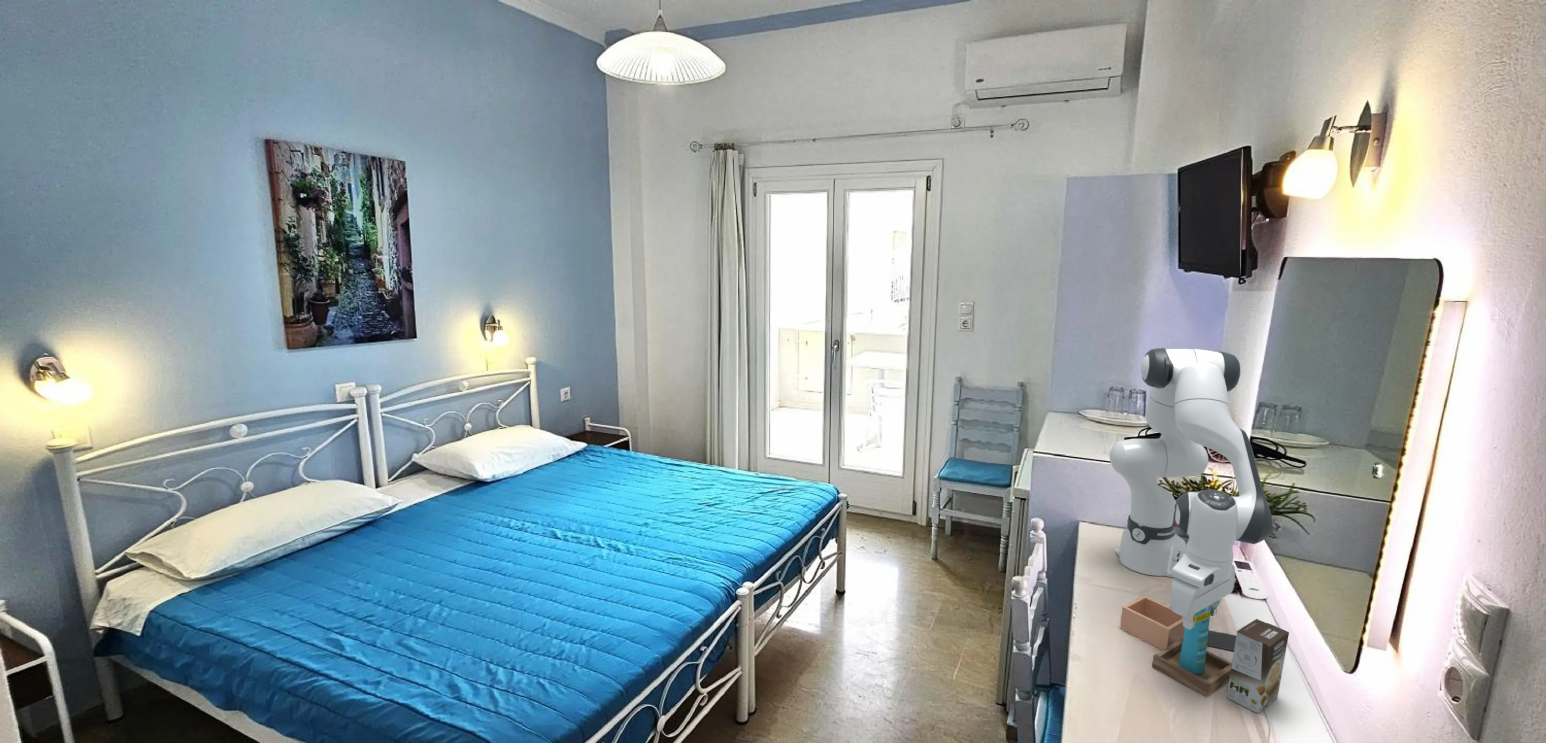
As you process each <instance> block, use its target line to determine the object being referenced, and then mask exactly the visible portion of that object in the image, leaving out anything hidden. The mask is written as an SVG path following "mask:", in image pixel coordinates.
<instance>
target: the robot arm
mask: <svg viewBox="0 0 1546 743" xmlns="http://www.w3.org/2000/svg"><path fill="white" fill-rule="evenodd" d="M1143 357H1144V358H1143V359H1142V362H1141V364H1140V372H1141V373H1140V374H1141V377H1142V381H1143V382H1144V383H1145V384H1146V385H1147V386H1148V387H1151V389H1150V393H1149V397H1148V401H1147V406H1146V410H1145V421H1146V423H1147V425H1148V426H1149V427H1150V428H1151V429H1152V430H1154V431H1155V432H1157V433H1159V434H1160V436H1159V438H1130V439H1124V440H1119V441H1118V440H1117V441H1116V442H1114V444H1113V445H1112V447H1111V448H1110V451H1109V462H1110V464H1111V466H1112V468H1113V470H1114V471H1115V472H1116V473H1117V474H1119V475H1120V476H1121V477H1122V478H1123V479H1124V480H1125V481H1126V483H1127V484H1128V486H1129V490H1130V514H1129V515H1128V518H1127V521H1126V523H1127V525H1126V528H1124V529H1123V530H1122V535H1121V539H1120V544H1119V547H1116V549H1115V553H1116V555H1118V561H1119V562H1120V563H1121V564H1122V565H1123V566H1124V567H1126V568H1128V569H1129V570H1130V571H1131V570H1132V571H1133V572H1137V573H1140V574H1143V575H1148V576H1158V577H1163V576H1164V577H1169V578H1170V577H1171V578H1174V579H1173V580H1172V583H1171V588H1170V589H1171V590H1170V600H1169V601H1170V602H1169V607H1170V608H1171V610H1172V611H1173V612H1174V613H1176V614H1178V615H1180V616H1182V618H1183V626H1184V627H1185V628H1187V629H1189V630H1191V629H1192V628H1194V627H1195V621H1194V620H1193V616H1194V614H1196V613H1197V612H1199V611H1201V610H1202V609H1204V608H1206V607H1208V606H1209V605H1211V613H1210V617H1214V616H1216V615H1217V614H1218V608H1219V607H1220V604H1221V602H1222V600H1223V598H1224V597H1226V596H1228V595H1230V594H1231V593H1232V592H1233V591H1234V588H1235V579H1236V568H1235V565H1234V564H1233V563H1234V551H1233V546H1234V544H1235V542H1236V541H1237V542H1241V543H1246V544H1251V545H1256V544H1258V543H1259V544H1260V543H1261V542H1262V541H1265V540H1266V539H1267V538H1269V537H1270V536H1271V534H1272V533H1273V527H1274V526H1273V525H1274V521H1273V520H1274V519H1273V517H1272V512H1271V508H1270V505H1269V504H1268V501H1267V499H1266V497H1265V493H1264V489H1263V485H1262V482H1261V478H1260V474H1259V473H1260V472H1259V470H1258V466H1257V462H1256V461H1257V460H1256V458H1255V455H1254V451H1253V448H1252V444H1251V441H1250V438H1249V436H1248V435H1247V433H1246V431H1245V430H1244V429H1242V428H1240V427H1238V425H1237V424H1236V423H1235V421H1234V419H1233V418H1232V416H1231V413H1230V410H1229V409H1230V408H1229V396H1228V392H1231V391H1232V390H1233V389H1234V388H1237V385H1238V383H1239V381H1240V379H1241V370H1242V369H1241V362H1240V361H1239V359H1238V358H1237V356H1236V355H1234V354H1232V353H1229V352H1225V351H1213V350H1207V349H1201V348H1200V349H1198V348H1164V347H1159V348H1151V349H1149V350H1148V351H1147V352H1146V353H1145V354H1144V356H1143ZM1206 448H1208V449H1210V450H1212V451H1215V452H1217V453H1218V454H1220V455H1221V456H1223V457H1224V458H1225V459H1227V460H1228V461H1229V462H1230V464H1231V466H1232V470H1233V474H1234V479H1235V482H1236V488H1237V491H1238V494H1239V495H1238V496H1234V495H1233V496H1232V495H1229V494H1228V493H1227V492H1223V491H1220V490H1215V489H1204V490H1203V489H1202V490H1200V491H1198V492H1197V491H1187V492H1184V493H1183V494H1181V495H1180V496H1179V497H1178V498H1176V500H1175V498H1174V496H1173V494H1172V493H1171V492H1170V491H1169V490H1168V489H1166V488H1164V487H1162V486H1159V485H1158V479H1159V478H1181V479H1182V478H1189V477H1195V476H1199V475H1202V474H1203V473H1204V472H1205V471H1206V469H1207V467H1208V464H1209V455H1208V451H1207V449H1206ZM1176 528H1178V529H1179V530H1180V531H1181V532H1182V533H1183V534H1185V535H1187V536H1188V540H1187V542H1185V540H1184V539H1183V538H1182V537H1180V536H1179V535H1178V534H1177V533H1176Z"/></svg>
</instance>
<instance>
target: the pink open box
mask: <svg viewBox="0 0 1546 743" xmlns="http://www.w3.org/2000/svg"><path fill="white" fill-rule="evenodd" d="M1119 628H1120V629H1121V630H1122V631H1125V632H1127V633H1129V634H1131V635H1133V636H1134V637H1136V638H1138V639H1140V640H1142V641H1144V642H1147V644H1150V645H1152V646H1153V647H1156V648H1158V649H1159V650H1160V651H1162V650H1163V649H1165V648H1167V647H1168V646H1170V645H1171V644H1173V643H1175V642H1176V641H1178V640H1180V639H1181V638H1182V639H1183V636H1184V630H1185V627H1184V626H1183V618H1182V616H1180V615H1178V614H1176V613H1174V612H1173V611H1172V610H1171V607H1170V606H1168V605H1166V604H1163V603H1162V602H1159V601H1157V600H1155V599H1153V598H1151V597H1149V596H1146V595H1143V596H1140V597H1139V598H1137V599H1135V600H1133V601H1131V602H1129V603H1127V604H1125V605H1123V606H1122V608H1121V616H1120V627H1119Z"/></svg>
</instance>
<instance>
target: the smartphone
mask: <svg viewBox="0 0 1546 743" xmlns="http://www.w3.org/2000/svg"><path fill="white" fill-rule="evenodd" d="M1236 635H1237V634H1231V633H1226V632H1219V631H1216V630H1215V631H1214V630H1209V631H1208V640H1207V648H1213V649H1218V650H1223V651H1227V652H1231V653H1234V647H1235V641H1236Z"/></svg>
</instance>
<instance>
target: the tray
mask: <svg viewBox="0 0 1546 743" xmlns="http://www.w3.org/2000/svg"><path fill="white" fill-rule="evenodd" d="M1182 642H1183V639H1182V638H1181V639H1180V640H1178V641H1176V642H1175V643H1173V644H1171V645H1170V646H1168V647H1167V648H1165V649H1163V650H1160V651H1158V652H1156V653H1155V654H1154V655H1152V662H1151V664H1152V666H1151V668H1153V669H1155V670H1156V671H1158V672H1160V673H1162V674H1164V675H1166V676H1167V677H1169V678H1171V679H1173V680H1174V681H1177V682H1179V683H1181V684H1182V685H1184V686H1185V687H1187V688H1190V689H1191V690H1193V691H1195V692H1197V693H1198V694H1200V695H1202V696H1204V697H1206V698H1207V697H1209V696H1211V695H1212V694H1213V693H1214V692H1216V691H1217V690H1219V689H1220V688H1222V687H1223V686H1225V685H1226V684H1227V683H1229V679H1230V672H1231V666H1232V661H1229V660H1227V659H1224V658H1222V657H1221V656H1219V655H1216V654H1215V653H1212V652H1210V651H1208V650H1206V658H1205V667H1204V672H1203V673H1202V674H1193V673H1191V672H1189V671H1187V670H1185V669H1183V668H1181V667H1180V666H1179V660H1180V654H1181V648H1182Z"/></svg>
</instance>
